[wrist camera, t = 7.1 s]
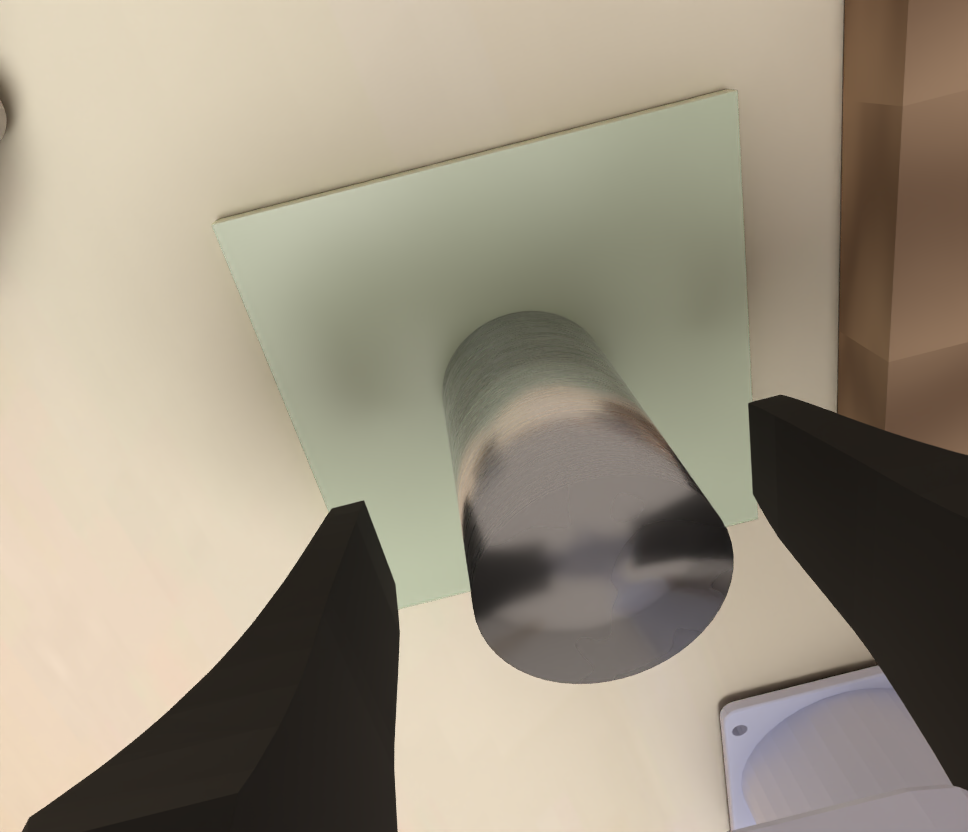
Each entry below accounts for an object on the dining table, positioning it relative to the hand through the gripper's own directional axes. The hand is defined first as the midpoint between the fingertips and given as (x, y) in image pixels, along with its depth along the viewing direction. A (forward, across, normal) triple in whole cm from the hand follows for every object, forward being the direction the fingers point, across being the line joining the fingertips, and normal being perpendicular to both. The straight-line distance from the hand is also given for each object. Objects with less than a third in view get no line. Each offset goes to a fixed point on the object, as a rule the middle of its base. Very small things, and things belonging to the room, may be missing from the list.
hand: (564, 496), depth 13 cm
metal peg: (+4, 0, 0) cm, 4 cm away
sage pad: (+5, 0, 0) cm, 5 cm away
